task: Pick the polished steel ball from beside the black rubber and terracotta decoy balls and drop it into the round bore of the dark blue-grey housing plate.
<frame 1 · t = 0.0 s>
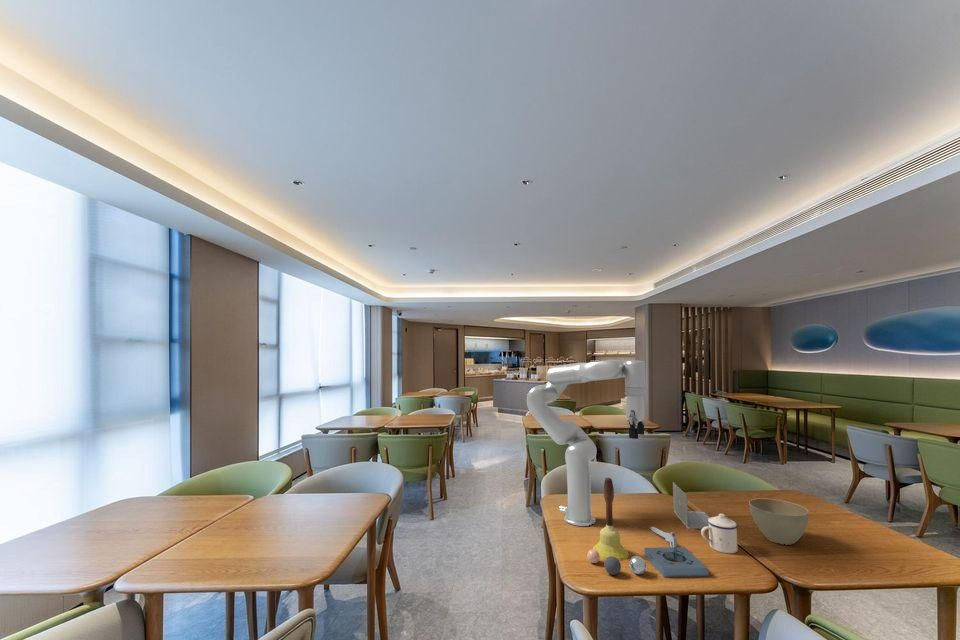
hand: (636, 436, 162), 37 cm above the table, tool pointing down, fingers open, 9 cm apart
housing plate: (674, 565, 136), on the table
steel ball: (637, 565, 131), point 2 cm above the table
terracotta ball: (593, 556, 138), point 2 cm above the table
laptop: (696, 521, 173), on the table
grey beige bowl: (779, 540, 155), on the table
handbell: (610, 552, 145), on the table
teacup with lid: (719, 548, 148), on the table
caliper: (662, 541, 155), on the table
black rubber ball: (612, 565, 131), point 2 cm above the table
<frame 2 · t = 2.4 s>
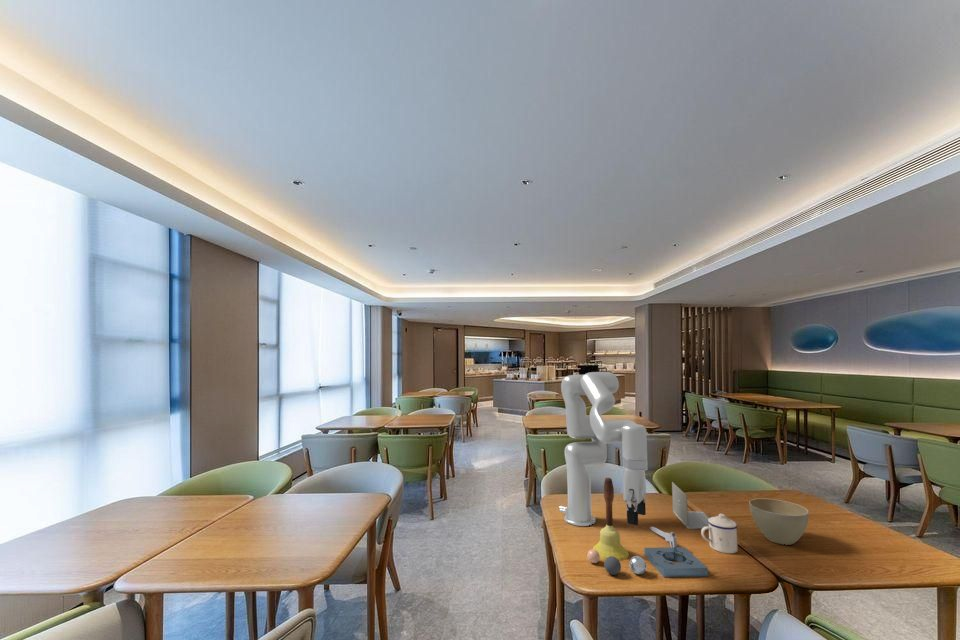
hand: (636, 518, 132), 17 cm above the table, tool pointing down, fingers open, 9 cm apart
nothing on the table moved.
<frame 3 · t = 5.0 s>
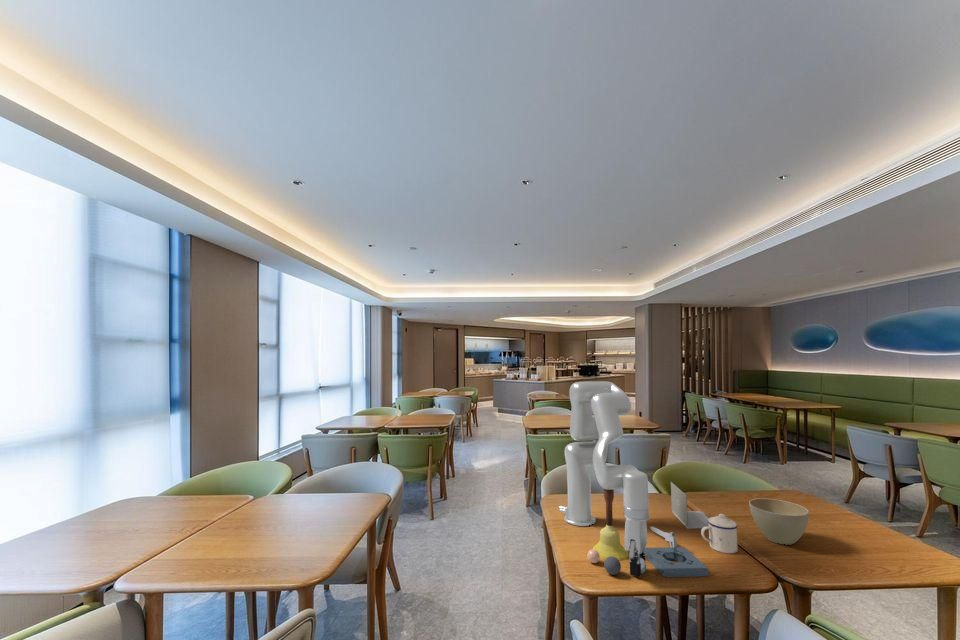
hand: (637, 571, 131), 1 cm above the table, tool pointing down, fingers closed on steel ball, 5 cm apart
steel ball: (637, 565, 131), point 2 cm above the table, touching gripper
everything else where it was.
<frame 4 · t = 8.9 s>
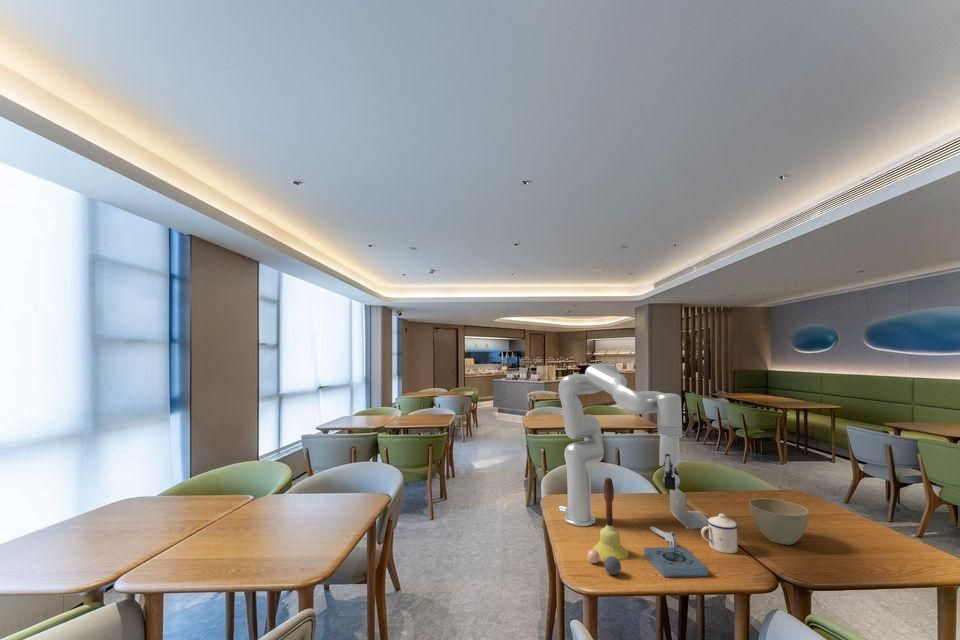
hand: (671, 486, 138), 25 cm above the table, tool pointing down, fingers closed on steel ball, 5 cm apart
steel ball: (671, 480, 138), point 27 cm above the table, touching gripper
everything else where it was.
when the fingers open (5 cm above the table, at t = 12.8 s): steel ball drops 4 cm, point 2 cm above the table.
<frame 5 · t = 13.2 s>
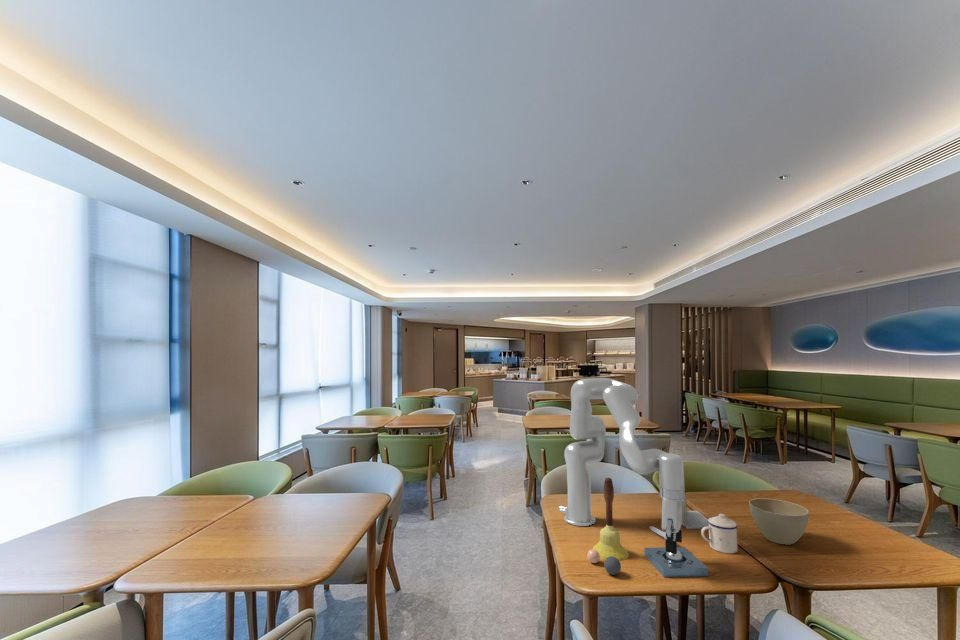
hand: (674, 546, 137), 6 cm above the table, tool pointing down, fingers open, 9 cm apart
steel ball: (674, 557, 136), point 2 cm above the table
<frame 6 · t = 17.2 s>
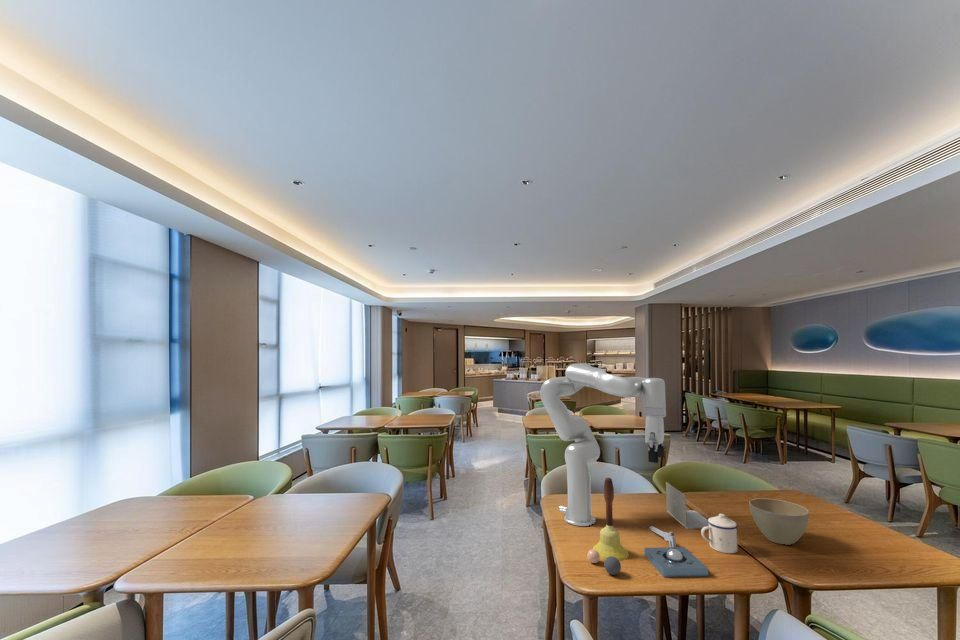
hand: (656, 459, 152), 30 cm above the table, tool pointing down, fingers open, 9 cm apart
at the end: steel ball 0.1 cm off-centre on the housing plate, point 2.5 cm above the housing plate's base; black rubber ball moved 0.0 cm from its start; terracotta ball moved 0.0 cm from its start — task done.
